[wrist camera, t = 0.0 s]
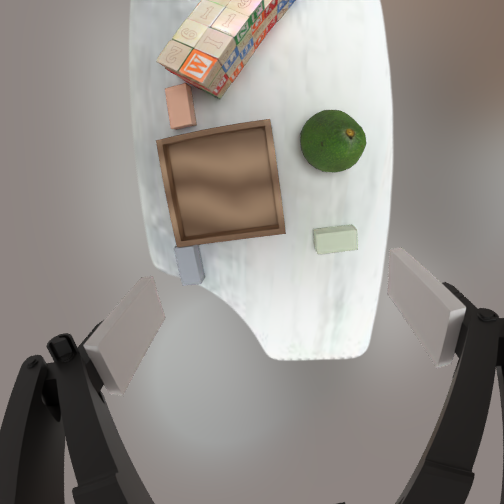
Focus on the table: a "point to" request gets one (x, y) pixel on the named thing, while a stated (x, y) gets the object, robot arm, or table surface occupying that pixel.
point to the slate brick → (189, 264)
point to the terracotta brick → (180, 106)
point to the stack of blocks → (220, 41)
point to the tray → (222, 183)
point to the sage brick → (335, 239)
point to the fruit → (332, 141)
